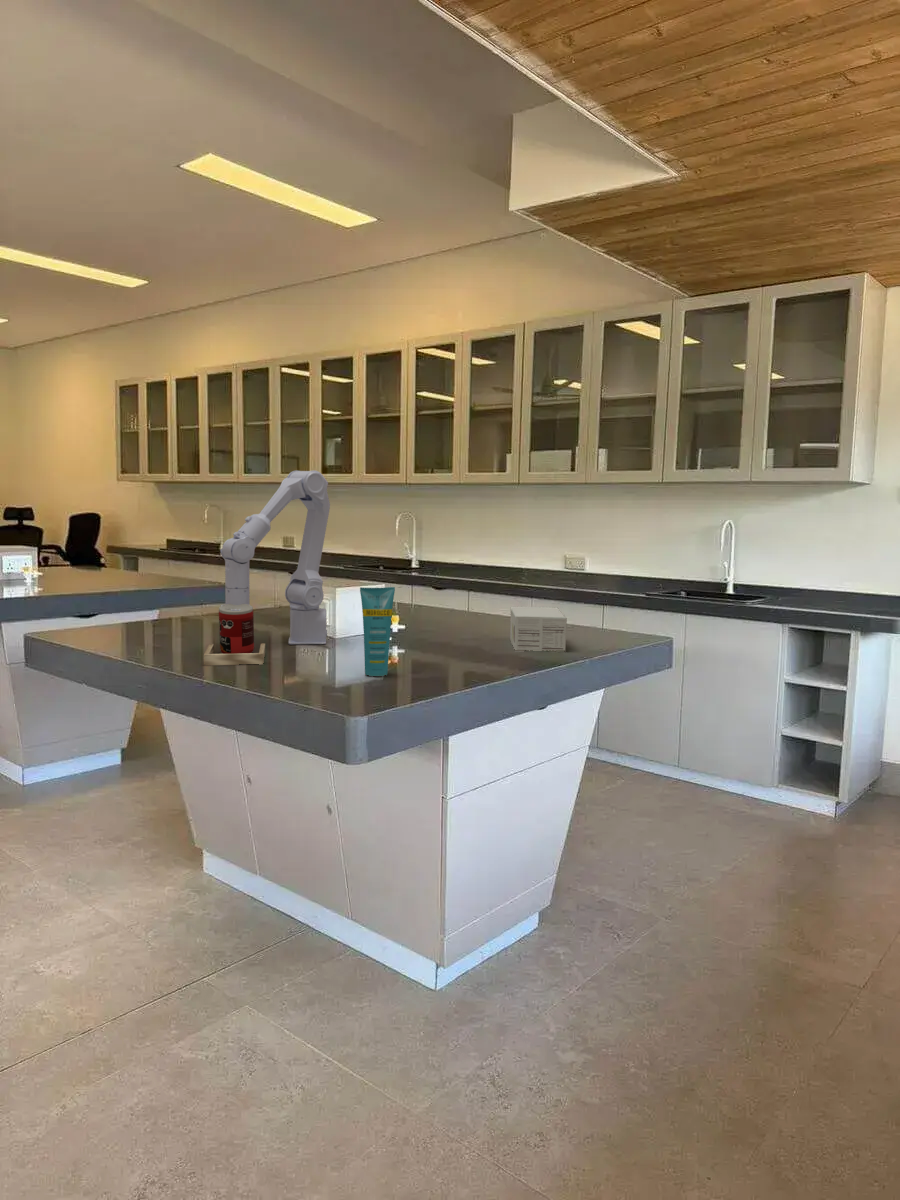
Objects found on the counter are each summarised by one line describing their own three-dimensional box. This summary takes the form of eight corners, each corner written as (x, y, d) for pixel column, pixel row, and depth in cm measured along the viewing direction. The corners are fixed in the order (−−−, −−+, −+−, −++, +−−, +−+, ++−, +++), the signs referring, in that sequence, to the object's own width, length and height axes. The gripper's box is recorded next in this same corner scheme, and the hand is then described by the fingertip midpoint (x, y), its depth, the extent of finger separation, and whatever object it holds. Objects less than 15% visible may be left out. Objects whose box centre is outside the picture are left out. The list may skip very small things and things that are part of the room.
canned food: (218, 647, 207) (217, 604, 204) (252, 645, 209) (251, 602, 206) (221, 657, 200) (220, 612, 197) (256, 655, 202) (255, 610, 200)
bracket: (265, 653, 205) (265, 643, 205) (263, 664, 193) (263, 654, 192) (209, 654, 203) (209, 644, 203) (204, 665, 190) (203, 654, 190)
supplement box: (508, 640, 231) (509, 606, 230) (557, 641, 231) (558, 607, 230) (513, 652, 214) (514, 615, 213) (565, 653, 214) (567, 616, 213)
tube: (361, 677, 181) (362, 588, 179) (357, 673, 186) (358, 585, 183) (395, 676, 183) (396, 588, 181) (391, 671, 188) (392, 585, 185)
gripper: (223, 584, 213) (223, 637, 215) (217, 591, 199) (218, 648, 201) (252, 584, 214) (252, 637, 216) (248, 591, 200) (248, 648, 202)
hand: (237, 642), depth 208 cm, fingers closed, pressing on canned food
